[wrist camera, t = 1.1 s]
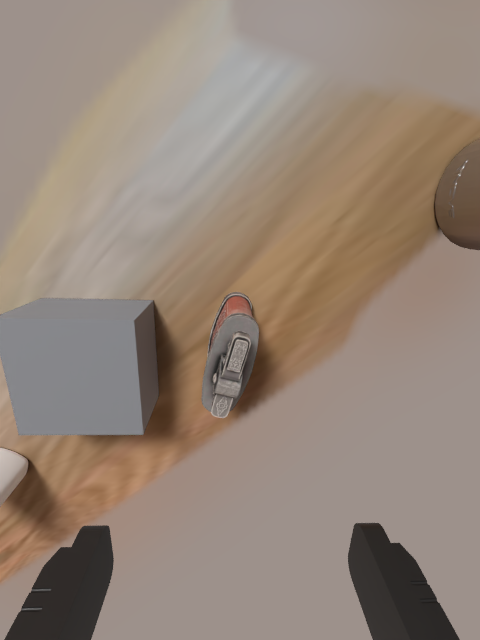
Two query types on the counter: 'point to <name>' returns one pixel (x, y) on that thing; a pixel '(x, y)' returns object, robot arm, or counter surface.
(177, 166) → the counter surface
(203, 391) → the lighter
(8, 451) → the eye dropper bottle
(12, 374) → the pedestal block
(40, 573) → the robot arm
